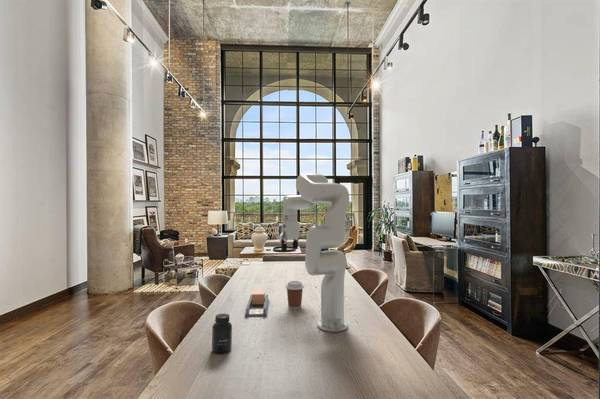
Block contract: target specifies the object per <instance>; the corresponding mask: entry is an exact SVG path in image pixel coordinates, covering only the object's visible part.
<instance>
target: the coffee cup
mask: <svg viewBox="0 0 600 399" xmlns="http://www.w3.org/2000/svg"><path fill="white" fill-rule="evenodd" d="M304 288H305V285H304V284H303V282H302V281H301V280H300V281H299V280H290V281H288V282H287V284H286V285H285V289H286V296H287V307H288V308H289V309H292V310H298V309H301V308H302V302H303V290H304Z"/></svg>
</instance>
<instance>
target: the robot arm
mask: <svg viewBox="0 0 600 399" xmlns="http://www.w3.org/2000/svg"><path fill="white" fill-rule="evenodd" d="M295 188H296V191H297V192H298V193H299V194H296V195H295V194H294V195H293V194H292V195H291V194H290V195H284V196H283V200H282V201H283V206H282V211H283V212H282V224H281V233H280V234H279V235H278V238H279V243H280V246H281V252H287V250H288V247H287V246H288V243H287V242H288V241H292V249H293V250H298V249H299V241H300V236H301V233H300V231H299V230H300V227H299V221H298V210H299V211H300V210H301V211H302V210H310V209H311V208H314V207H315V206H316V205H317V204H330V205H329V207H328V208H327V210H326V211H325V214H324V223H323V224H321V225H319V224H318V225H312V226H311V227H310V228H309V229H308V230H307V234H306V238H305V240H306V241H305V257H304V258H305V259H304V263H305V264H304V266H305V270H306V272H307V273H308V275H311V276H323V275H324V276H323V278H322V279H321V280H322V281H321V285H320V286H321V287H320V289H321V290H320V291H321V296H320V300H321V301H320V304H321V306H320V308H321V310H320V318H321V319H320V320H318V322H317V323H316V324H317V327H318V329H320V330H322V331H325V332H329V333H330V332H333V333H336V332H338V333H339V332H343V331H346V330H347V329H348V327H349V326H348V322H347V321H345V276H346V270H347V265H348V263H347V261H348V260H347V256H346V254H345V253H344V252H342V251H341V250H337V249H336V248H340V247H342V246H343V245H344V243H345V236H346V235H345V234H346V216H347V211H348V207H349V203H350V193H349V189H348V188H347V187H346V186H345V185H343V184H341V183H336V182H329V180H328V178H327V177H326V176H325V175H323V174H319V173H301V174H299V175H298V176H297V178H296V181H295ZM323 249H331V250H324V251H323ZM333 249H334V250H333Z"/></svg>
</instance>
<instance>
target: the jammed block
mask: <svg viewBox="0 0 600 399" xmlns="http://www.w3.org/2000/svg"><path fill="white" fill-rule="evenodd" d="M251 295H252V305H255V304H264V302H265V297H266V291H265V290H253V291H252V294H251Z"/></svg>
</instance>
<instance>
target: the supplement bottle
mask: <svg viewBox="0 0 600 399" xmlns="http://www.w3.org/2000/svg"><path fill="white" fill-rule="evenodd" d="M214 322H215V323H213V324H212V326H211V327H212V328H211V352H212V353H214V354H217V355H218V354H219V355H223V354H227V353H229V352H230V351H231V350H232V346H233V345H232V343H233V342H232V341H233V324H232V323H231V322H230V314H229V313H228V314H227V313H218V314H216V315H215V320H214Z"/></svg>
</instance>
